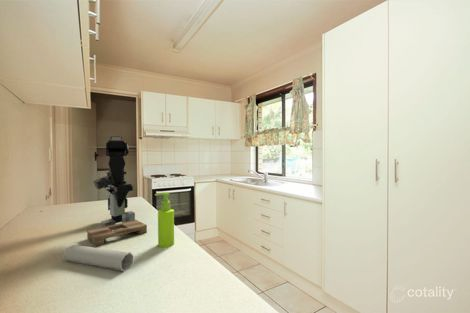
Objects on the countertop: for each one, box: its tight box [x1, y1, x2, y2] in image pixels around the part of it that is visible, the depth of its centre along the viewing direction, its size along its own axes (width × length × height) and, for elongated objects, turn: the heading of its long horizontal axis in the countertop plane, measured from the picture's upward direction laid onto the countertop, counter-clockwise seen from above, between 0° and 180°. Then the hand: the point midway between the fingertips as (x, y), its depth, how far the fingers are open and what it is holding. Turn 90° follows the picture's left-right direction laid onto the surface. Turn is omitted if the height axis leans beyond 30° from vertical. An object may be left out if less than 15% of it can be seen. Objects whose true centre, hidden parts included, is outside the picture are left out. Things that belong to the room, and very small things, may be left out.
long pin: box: [109, 193, 126, 216], centre depth 97 cm, size 4×4×9 cm
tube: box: [62, 244, 134, 273], centre depth 73 cm, size 5×5×25 cm
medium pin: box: [121, 210, 136, 223], centre depth 112 cm, size 4×4×6 cm
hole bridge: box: [86, 219, 148, 248], centre depth 97 cm, size 11×20×4 cm, turn 136°
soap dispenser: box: [154, 191, 175, 248], centre depth 88 cm, size 6×7×20 cm
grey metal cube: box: [101, 218, 116, 227], centre depth 105 cm, size 4×4×4 cm
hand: (117, 206), depth 97 cm, fingers closed on long pin, 4 cm apart
